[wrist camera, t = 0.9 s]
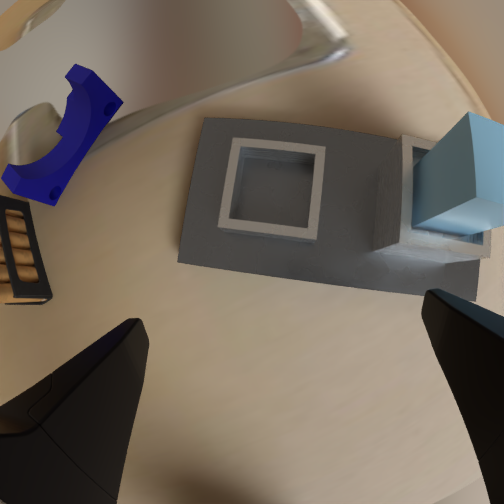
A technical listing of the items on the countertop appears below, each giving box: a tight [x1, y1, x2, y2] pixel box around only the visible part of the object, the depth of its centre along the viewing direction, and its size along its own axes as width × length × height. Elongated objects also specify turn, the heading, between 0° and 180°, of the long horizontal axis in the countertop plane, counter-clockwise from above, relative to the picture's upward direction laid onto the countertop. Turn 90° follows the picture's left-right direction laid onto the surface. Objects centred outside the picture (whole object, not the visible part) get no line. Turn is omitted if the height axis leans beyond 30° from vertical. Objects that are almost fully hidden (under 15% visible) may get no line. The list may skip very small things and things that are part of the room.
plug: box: [412, 112, 504, 237], centre depth 12 cm, size 4×4×7 cm
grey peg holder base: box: [177, 118, 491, 302], centre depth 19 cm, size 22×11×8 cm, turn 82°
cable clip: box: [1, 64, 124, 206], centre depth 23 cm, size 12×4×6 cm, turn 146°
